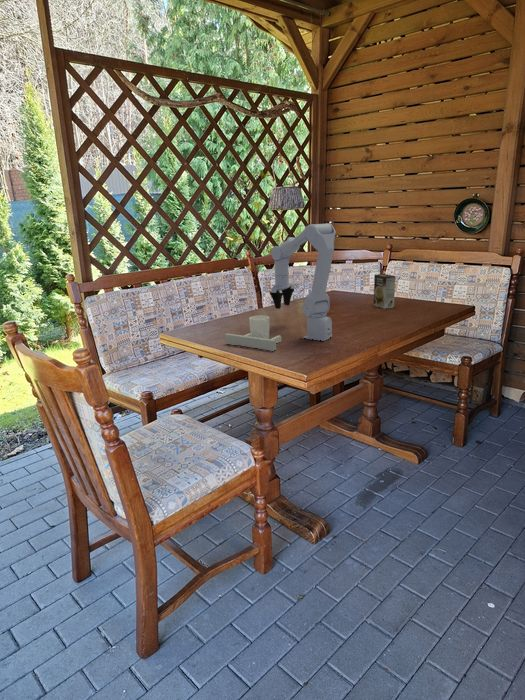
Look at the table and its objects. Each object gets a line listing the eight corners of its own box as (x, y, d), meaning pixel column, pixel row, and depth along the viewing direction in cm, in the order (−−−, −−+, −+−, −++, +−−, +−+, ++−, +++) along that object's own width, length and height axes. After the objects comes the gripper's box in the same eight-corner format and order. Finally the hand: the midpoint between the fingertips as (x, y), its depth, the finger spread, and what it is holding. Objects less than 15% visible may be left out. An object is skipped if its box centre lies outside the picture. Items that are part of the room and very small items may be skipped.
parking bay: (291, 343, 182) (290, 333, 181) (273, 351, 172) (273, 341, 171) (244, 336, 194) (243, 327, 192) (225, 344, 184) (225, 334, 182)
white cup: (255, 346, 179) (254, 320, 176) (247, 342, 186) (245, 317, 183) (274, 343, 182) (273, 318, 180) (264, 338, 189) (263, 314, 186)
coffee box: (372, 306, 243) (373, 274, 239) (382, 304, 246) (384, 273, 241) (384, 309, 235) (385, 276, 231) (394, 307, 238) (396, 275, 233)
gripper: (282, 272, 207) (282, 302, 210) (264, 276, 195) (265, 309, 199) (296, 273, 203) (296, 304, 207) (279, 277, 191) (279, 310, 195)
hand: (282, 306), depth 203 cm, fingers open, 7 cm apart
